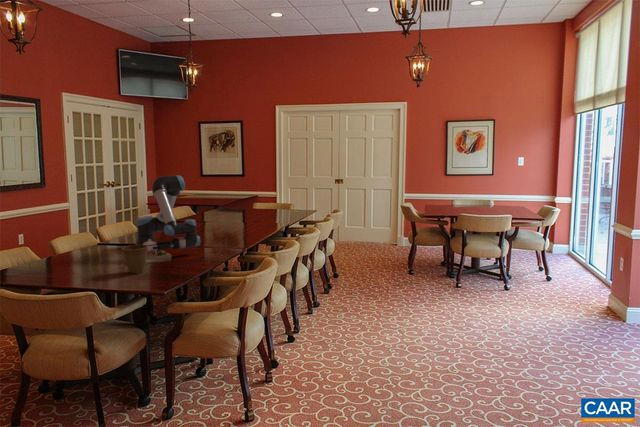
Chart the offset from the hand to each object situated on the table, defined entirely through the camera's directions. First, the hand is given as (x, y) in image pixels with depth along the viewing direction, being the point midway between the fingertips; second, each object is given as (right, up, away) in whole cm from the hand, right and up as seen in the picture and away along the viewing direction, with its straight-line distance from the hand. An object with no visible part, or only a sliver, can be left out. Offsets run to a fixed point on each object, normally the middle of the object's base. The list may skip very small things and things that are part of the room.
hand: (145, 247), depth 333 cm
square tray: (+4, -9, +4) cm, 11 cm away
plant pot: (+4, -14, -27) cm, 31 cm away
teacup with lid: (+4, -6, +3) cm, 8 cm away
